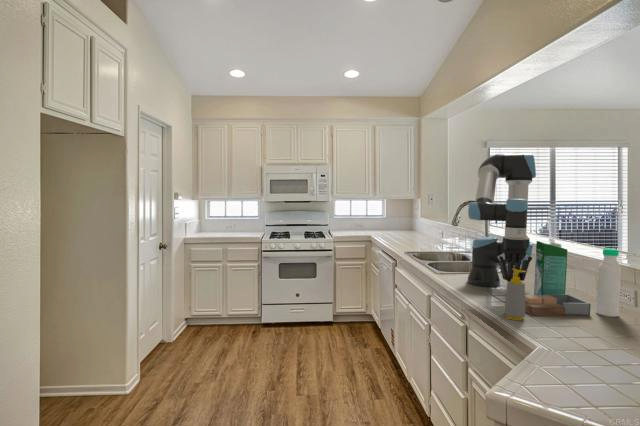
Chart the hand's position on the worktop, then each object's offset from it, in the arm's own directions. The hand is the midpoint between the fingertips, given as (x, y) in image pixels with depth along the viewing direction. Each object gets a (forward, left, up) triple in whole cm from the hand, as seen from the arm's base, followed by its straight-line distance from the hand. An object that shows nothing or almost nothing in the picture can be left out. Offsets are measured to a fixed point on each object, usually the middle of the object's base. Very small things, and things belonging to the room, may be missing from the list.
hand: (512, 298), depth 152 cm
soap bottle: (+11, -4, -5) cm, 13 cm away
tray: (0, +21, -4) cm, 21 cm away
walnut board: (0, +10, -4) cm, 11 cm away
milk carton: (-14, +23, -5) cm, 27 cm away
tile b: (0, +13, -1) cm, 13 cm away
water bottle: (+5, +34, -5) cm, 34 cm away
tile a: (0, +8, -1) cm, 8 cm away
